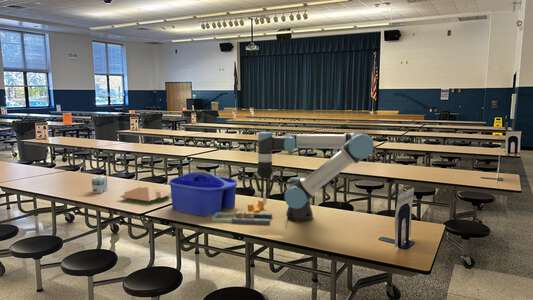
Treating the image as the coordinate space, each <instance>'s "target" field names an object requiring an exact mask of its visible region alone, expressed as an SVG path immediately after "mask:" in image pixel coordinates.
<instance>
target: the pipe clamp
mask: <svg viewBox="0 0 533 300" xmlns="http://www.w3.org/2000/svg"><path fill="white" fill-rule="evenodd" d="M264 209H265V205H263V199H259V200H258V202H257V205H256V207H254V204H253V203H249V204H247V211H250V212H254V213H261V210H264Z"/></svg>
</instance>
